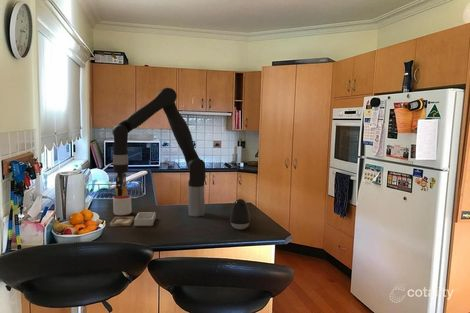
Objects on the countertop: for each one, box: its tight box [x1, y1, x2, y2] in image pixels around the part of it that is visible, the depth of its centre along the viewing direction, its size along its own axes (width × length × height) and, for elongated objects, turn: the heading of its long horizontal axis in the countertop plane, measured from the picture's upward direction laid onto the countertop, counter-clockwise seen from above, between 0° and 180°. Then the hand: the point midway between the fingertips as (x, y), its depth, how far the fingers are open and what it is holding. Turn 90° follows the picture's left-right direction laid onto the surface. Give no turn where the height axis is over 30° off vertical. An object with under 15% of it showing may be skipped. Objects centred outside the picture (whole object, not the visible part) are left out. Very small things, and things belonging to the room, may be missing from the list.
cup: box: [112, 194, 133, 217], centre depth 193 cm, size 10×10×10 cm
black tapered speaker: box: [229, 198, 251, 231], centre depth 168 cm, size 10×10×15 cm
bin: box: [133, 211, 156, 227], centre depth 178 cm, size 9×14×4 cm
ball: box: [114, 185, 128, 197], centre depth 175 cm, size 6×6×6 cm
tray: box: [109, 216, 135, 227], centre depth 176 cm, size 10×12×2 cm
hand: (121, 194), depth 175 cm, fingers closed on ball, 6 cm apart
